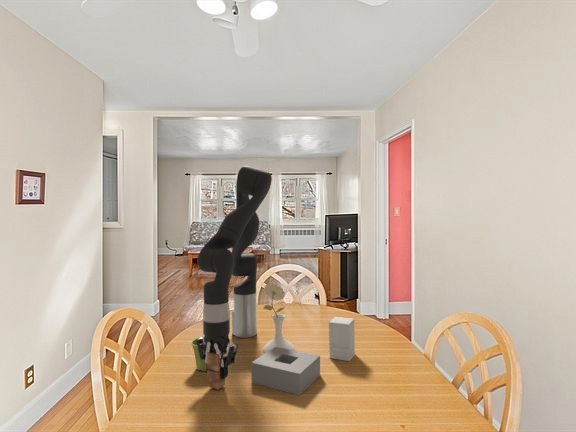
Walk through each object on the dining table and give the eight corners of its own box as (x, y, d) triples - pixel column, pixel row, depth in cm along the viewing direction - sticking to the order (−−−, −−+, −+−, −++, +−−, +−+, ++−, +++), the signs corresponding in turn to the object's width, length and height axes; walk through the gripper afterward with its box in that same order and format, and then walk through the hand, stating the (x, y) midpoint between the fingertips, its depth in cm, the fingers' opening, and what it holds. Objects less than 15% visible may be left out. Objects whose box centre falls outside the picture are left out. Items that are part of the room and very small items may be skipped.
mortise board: (251, 382, 108) (251, 362, 108) (275, 364, 120) (275, 346, 120) (299, 395, 100) (299, 373, 100) (320, 374, 113) (320, 355, 113)
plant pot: (189, 364, 121) (189, 338, 121) (217, 359, 125) (217, 334, 125) (193, 376, 113) (193, 348, 112) (224, 370, 116) (223, 343, 116)
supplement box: (355, 353, 129) (355, 318, 129) (349, 361, 122) (349, 324, 122) (335, 350, 132) (335, 315, 132) (328, 358, 125) (328, 321, 125)
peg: (206, 387, 104) (206, 352, 104) (216, 381, 108) (216, 347, 108) (218, 390, 102) (218, 355, 102) (227, 384, 106) (227, 350, 106)
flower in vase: (301, 354, 129) (301, 283, 129) (279, 364, 121) (278, 289, 120) (275, 345, 138) (274, 279, 137) (252, 354, 129) (252, 283, 129)
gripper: (244, 317, 105) (244, 376, 105) (206, 311, 112) (206, 366, 112) (228, 324, 98) (228, 387, 98) (188, 317, 105) (189, 376, 105)
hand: (217, 376), depth 105 cm, fingers closed on peg, 4 cm apart
